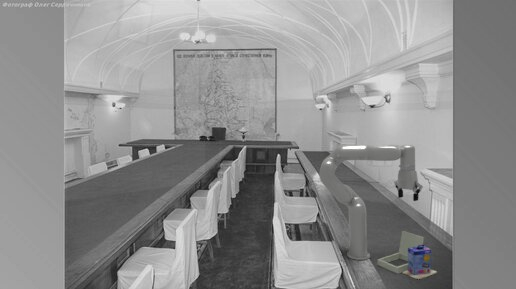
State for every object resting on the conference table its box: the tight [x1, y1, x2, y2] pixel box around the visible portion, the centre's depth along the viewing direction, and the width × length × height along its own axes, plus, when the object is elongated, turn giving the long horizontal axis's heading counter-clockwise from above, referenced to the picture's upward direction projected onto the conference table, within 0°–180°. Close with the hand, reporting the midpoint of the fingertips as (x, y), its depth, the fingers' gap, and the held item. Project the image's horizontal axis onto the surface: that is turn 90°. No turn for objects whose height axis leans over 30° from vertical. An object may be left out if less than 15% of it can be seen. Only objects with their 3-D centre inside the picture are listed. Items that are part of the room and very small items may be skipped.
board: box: [402, 269, 437, 281], centre depth 177 cm, size 9×14×1 cm, turn 119°
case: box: [377, 230, 425, 274], centre depth 187 cm, size 13×21×15 cm, turn 119°
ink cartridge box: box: [407, 244, 432, 275], centre depth 176 cm, size 10×6×14 cm, turn 103°
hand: (408, 198), depth 193 cm, fingers open, 9 cm apart
